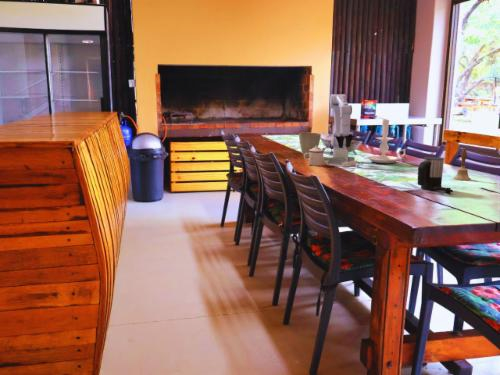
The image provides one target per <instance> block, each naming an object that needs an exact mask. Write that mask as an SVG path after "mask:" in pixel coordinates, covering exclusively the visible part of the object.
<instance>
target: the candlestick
mask: <svg viewBox="0 0 500 375" xmlns="http://www.w3.org/2000/svg"><path fill="white" fill-rule="evenodd" d="M389 124H390V120H389V119H388V118H382V126H381V130H382V132H381V133H382V137H381V136H378V137H375V139H376V140H379V141H381V143H380V145H379V146H378V147H379V152H381V155H369V156H366V159H368V160H370V161H371V162H374V163H377V164H393V163H396V162H397V161H400V160H403V157H405V155H406V150H407V149H399V150H398V152H397V155H398V156H393V155H386V154H387V152H388V150H390V149H389V143H388V142H389V141H391V140H394V139H395V138H393V137H388V136H389V126H390V125H389ZM400 152H403V154H402V155H400V154H401V153H400Z"/></svg>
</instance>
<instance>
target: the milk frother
mask: <svg viewBox="0 0 500 375" xmlns="http://www.w3.org/2000/svg"><path fill="white" fill-rule="evenodd" d="M444 162H445V158H444V157H441V156H424V157H423V161H421V162H420V163H419V164H418V166H417V185H418V186H420V189H422V190H426V191H434V192H435V191H438V192H439V191H441V192H445V193H446V194H451V193H453V192H454V190H453V189H451V188H450V187H443V186H442V185H443V184H442V180H443V171H444Z"/></svg>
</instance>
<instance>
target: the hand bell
mask: <svg viewBox="0 0 500 375" xmlns="http://www.w3.org/2000/svg"><path fill="white" fill-rule="evenodd" d="M467 152H468V151H467V149H466V148H462V151H461V155H460V158H461V166H460V168H458V170H457V173H456V175H455V176H454V177H453V178H452V179H453V180H455V181H461V182H463V181H464V182H469V181H472V179H471V177H470V176H469V172H468V168H466V160H467V156H468V153H467Z"/></svg>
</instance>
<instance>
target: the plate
mask: <svg viewBox="0 0 500 375" xmlns="http://www.w3.org/2000/svg"><path fill="white" fill-rule="evenodd" d="M349 152H350V151H349V150H348V149H347V150H338V149H337V150H336V156H335V157H338V158H346V159H347V162H348V157H349Z"/></svg>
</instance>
